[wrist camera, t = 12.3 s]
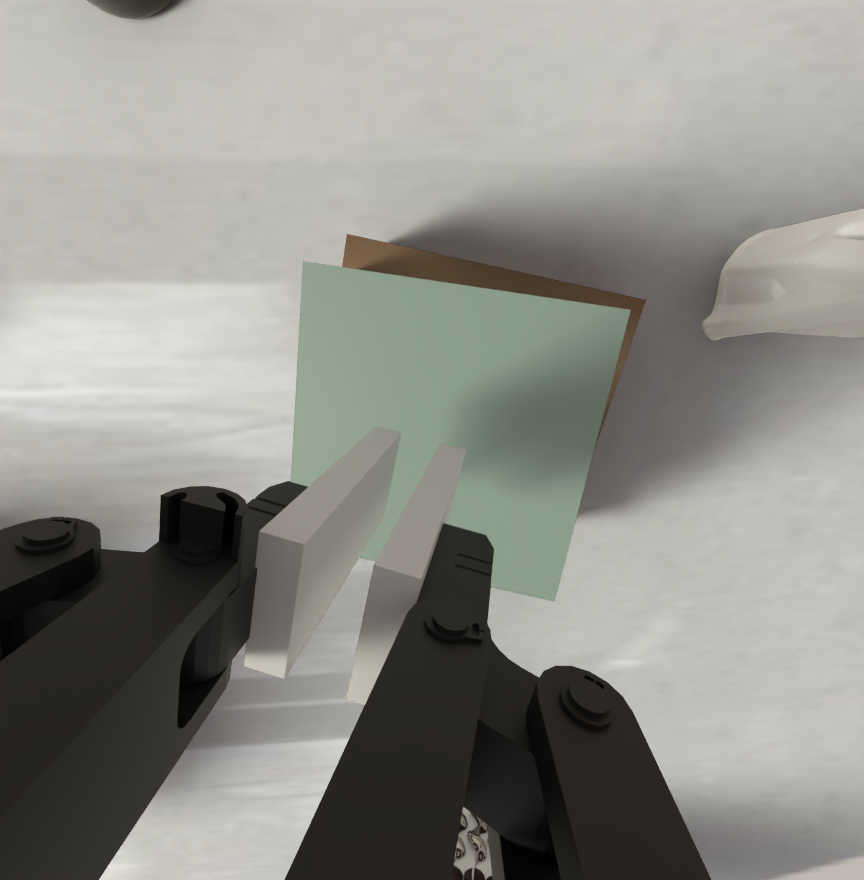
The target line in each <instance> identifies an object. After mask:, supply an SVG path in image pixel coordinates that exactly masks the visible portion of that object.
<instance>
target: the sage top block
mask: <svg viewBox="0 0 864 880" xmlns="http://www.w3.org/2000/svg"><path fill="white" fill-rule="evenodd" d="M630 311H631V310H628V309H621V308H615V307H608V306H601V305H594V304H588V303H581V302H574V301H567V300H561V299H554V298H547V297H540V296H534V295H527V294H520V293H513V292H507V291H500V290H493V289H486V288H480V287H473V286H466V285H459V284H453V283H446V282H439V281H432V280H426V279H419V278H412V277H405V276H399V275H392V274H385V273H378V272H372V271H365V270H358V269H351V268H345V267H338V266H331V265H324V264H318V263H311V262H304V261H303V269H302V288H301V306H300V324H299V343H298V361H297V380H296V398H295V416H294V435H293V453H292V471H291V482H293V483H297V484H300V485H304V486H307V487H309V486H310V485H311V484H312V483H313V482H314V481H316V480H317V479H318V478H319V477H320V476H321V475H322V474H323V473H325V472H326V471H327V470H328V469H329V468H330V467H331V466H332V465H333V464H335V463H336V462H337V461H338V460H339V459H340V458H341V457H342V456H343V455H345V454H346V453H347V452H348V451H349V450H350V449H351V448H352V447H353V446H355V445H356V444H357V443H358V442H359V441H360V440H361V439H362V438H364V437H365V436H366V435H367V434H368V433H369V432H370V431H371V430H372V429H374V428H375V427H376V426H379V427H383V428H386V429H390V430H394V431H398V432H401V438H400V443H399V448H398V453H397V457H396V462H395V467H394V472H393V477H392V482H391V487H390V491H389V496H388V501H387V506H386V511H385V516H384V518H383V519H382V521H381V522H380V524H379V526H378V527H377V529H376V531H375V532H374V534H373V535H372V537H371V539H370V540H369V542H368V544H367V545H366V547H365V548H364V550H363V552H362V553H361V555H360V558H364V559H368V560H373V561H376V560H377V558H378V557H379V555H380V553H381V551H382V549H383V547H384V546H385V544H386V542H387V540H388V538H389V536H390V535H391V533H392V531H393V529H394V527H395V525H396V523H397V522H398V520H399V518H400V516H401V514H402V512H403V511H404V509H405V507H406V505H407V503H408V501H409V499H410V498H411V496H412V494H413V492H414V490H415V488H416V487H417V485H418V483H419V481H420V479H421V477H422V475H423V474H424V472H425V470H426V468H427V466H428V464H429V463H430V461H431V459H432V457H433V455H434V453H435V451H436V450H437V448H438V446H439V444H440V443H443V444H447V445H451V446H455V447H458V448H462V449H466V452H465V456H464V460H463V464H462V468H461V472H460V476H459V480H458V484H457V487H456V491H455V495H454V499H453V503H452V507H451V511H450V515H449V519H448V523H447V524H449V525H452V526H456V527H459V528H463V529H466V530H470V531H473V532H477V533H481V534H484V535H486V536H487V537H488V539H489V541H490V543H491V544H492V546H493V548H494V557H493V565H492V566H493V567H492V576H491V577H492V578H491V587H492V588H497V589H501V590H506V591H510V592H514V593H519V594H523V595H528V596H532V597H537V598H541V599H545V600H550V601H555V598H556V594H557V590H558V586H559V582H560V578H561V575H562V571H563V567H564V563H565V559H566V555H567V552H568V548H569V544H570V540H571V536H572V533H573V529H574V525H575V521H576V517H577V513H578V510H579V506H580V502H581V498H582V494H583V490H584V487H585V483H586V479H587V475H588V471H589V468H590V464H591V460H592V456H593V452H594V448H595V445H596V441H597V437H598V433H599V429H600V426H601V422H602V418H603V414H604V410H605V406H606V403H607V399H608V395H609V391H610V387H611V383H612V380H613V376H614V372H615V368H616V364H617V361H618V357H619V353H620V349H621V345H622V341H623V338H624V334H625V330H626V326H627V322H628V319H629V315H630Z"/></svg>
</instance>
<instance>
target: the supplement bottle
mask: <svg viewBox="0 0 864 880" xmlns="http://www.w3.org/2000/svg"><path fill="white" fill-rule="evenodd" d="M87 1H89V2H90V3H92V4H93V5H95V6H96V7H98V8H100V9H101V10H103V11H105V12H107V13H109V14H111V15H114V16H117V17H121V18H126V19H138V18H144V17H148V16H151V15H153V14H155V13H157V12H159V11H160V10H162V9H163V8H165V7H166V6H167V5H168V4H169V3H170V2H171V1H172V0H87Z"/></svg>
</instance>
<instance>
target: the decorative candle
mask: <svg viewBox="0 0 864 880" xmlns="http://www.w3.org/2000/svg"><path fill="white" fill-rule="evenodd" d="M451 880H493V879H492V869H491V859H490V850H489V840H488V825H487V824H486V823H484V822H483V821H482V820H480V819H479V818H478V817H476V816H475V815H474V814H472V813H471V812H470V811H468V810H467V809H466V808H464V807H463V812H462V817H461V823H460V829H459V835H458V841H457V847H456V853H455V859H454V865H453V870H452V876H451Z"/></svg>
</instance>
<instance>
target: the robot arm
mask: <svg viewBox="0 0 864 880" xmlns="http://www.w3.org/2000/svg"><path fill="white" fill-rule="evenodd" d="M400 438H401V432H398V431H394V430H390V429H386V428H383V427H379V426H376V427H375V428H374V429H372V430H371V431H370V432H369V433H368V434H367V435H366V436H365V437H364V438H362V439H361V440H360V441H359V442H358V443H357V444H356V445H355V446H353V447H352V448H351V449H350V450H349V451H348V452H347V453H346V454H345V455H343V456H342V457H341V458H340V459H339V460H338V461H337V462H336V463H335V464H333V465H332V466H331V467H330V468H329V469H328V470H327V471H326V472H325V473H323V474H322V475H321V476H320V477H319V478H318V479H317V480H316V481H314V482H313V483H312V484H311V485H310V486H309V487H307V486H304V485H300V484H297V483H293V482H290V481H287V482H284V483H281V484H277V485H274V486H271V487H268V488H267V489H266V490H264V491H263V492H262V493H261V494H259V495H258V496H257V497H256V499H253V500H251V501H250V502H249V503H247V504H246V501H245V500H244V499H243V498H242V497H241V496H239V495H238V494H237V493H234V492H231V491H229V490H226V489H222V488H216V487H209V486H195V487H186V488H180V489H175V490H172V491H170V492H167V493H165V494H163V495H161V506H160V532H159V542H158V543H156V544H155V545H154V546H152V547H151V548H150V549H148V550H147V551H146V552H130V551H117V550H105V549H101V537H100V530H99V529H98V528H97V527H96V526H95V525H93V524H92V523H90V522H87V521H84V520H80V519H77V518H68V517H66V518H64V517H52V518H46V519H37V520H33V521H29V522H25V523H21V524H17V525H14V526H11V527H8V528H5V529H2V530H0V880H99V878H100V877H101V875H102V874H103V872H104V871H105V869H106V868H107V866H108V865H109V863H110V862H111V860H112V859H113V857H114V856H115V854H116V853H117V851H118V850H119V848H120V847H121V845H122V844H123V842H124V841H125V839H126V838H127V836H128V835H129V833H130V832H131V830H132V829H133V827H134V826H135V824H136V823H137V821H138V820H139V818H140V817H141V815H142V814H143V812H144V811H145V809H146V808H147V806H148V805H149V803H150V802H151V800H152V799H153V797H154V796H155V794H156V792H157V791H158V789H159V788H160V786H161V785H162V783H163V782H164V780H165V779H166V777H167V776H168V774H169V773H170V771H171V770H172V768H173V767H174V765H175V764H176V762H177V761H178V759H179V758H180V756H181V755H182V753H183V752H184V750H185V749H186V747H187V746H188V744H189V743H190V741H191V740H192V738H193V737H194V735H195V734H196V732H197V731H198V729H199V728H200V726H201V725H202V723H203V722H204V720H205V719H206V717H207V716H208V714H209V713H210V711H211V710H212V708H213V707H214V705H215V704H216V702H217V701H218V699H219V698H220V696H221V695H222V693H223V691H224V690H225V688H226V686H227V683H228V681H229V678H230V672H231V662H232V659H233V658H234V657H235V655H236V654H237V653H238V652H239V650H240V649H241V648H242V647H243V645H244V644H245V643H246V651H245V660H244V666H245V667H249V668H252V669H255V670H258V671H261V672H264V673H267V674H270V675H273V676H276V677H279V678H282V679H284V678H285V677H286V675H287V673H288V672H289V670H290V669H291V667H292V665H293V664H294V662H295V661H296V659H297V657H298V656H299V654H300V652H301V651H302V649H303V648H304V646H305V644H306V643H307V641H308V639H309V638H310V636H311V635H312V633H313V631H314V630H315V628H316V626H317V625H318V623H319V622H320V620H321V618H322V617H323V615H324V613H325V612H326V610H327V609H328V607H329V605H330V604H331V602H332V600H333V599H334V597H335V596H336V594H337V592H338V591H339V589H340V587H341V586H342V584H343V583H344V581H345V579H346V578H347V576H348V574H349V573H350V571H351V570H352V568H353V566H354V565H355V563H356V561H357V560H358V558H359V557H360V555H361V553H362V552H363V550H364V548H365V547H366V545H367V544H368V542H369V540H370V539H371V537H372V535H373V534H374V532H375V531H376V529H377V527H378V526H379V524H380V522H381V521H382V519H383V518H384V516H385V511H386V506H387V501H388V496H389V491H390V487H391V482H392V477H393V472H394V467H395V462H396V457H397V453H398V448H399V443H400ZM465 452H466V449H462V448H458V447H455V446H451V445H447V444H443V443H440V444H439V446H438V448H437V450H436V451H435V453H434V455H433V457H432V459H431V461H430V463H429V464H428V466H427V468H426V470H425V472H424V474H423V475H422V477H421V479H420V481H419V483H418V485H417V487H416V488H415V490H414V492H413V494H412V496H411V498H410V499H409V501H408V503H407V505H406V507H405V509H404V511H403V512H402V514H401V516H400V518H399V520H398V522H397V523H396V525H395V527H394V529H393V531H392V533H391V535H390V536H389V538H388V540H387V542H386V544H385V546H384V547H383V549H382V551H381V553H380V555H379V557H378V558H377V560H376V562H375V564H374V567H373V572H372V577H371V582H370V587H369V592H368V596H367V601H366V606H365V611H364V616H363V621H362V626H361V630H360V635H359V640H358V645H357V650H356V655H355V660H354V664H353V669H352V674H351V679H350V684H349V689H348V694H347V698H346V699H347V700H350V701H353V702H356V703H359V704H362V705H365V706H364V708H363V710H362V713H361V715H360V717H359V719H358V721H357V723H356V726H355V728H354V730H353V732H352V734H351V736H350V739H349V741H348V743H347V745H346V747H345V750H344V752H343V754H342V756H341V758H340V760H339V763H338V765H337V767H336V769H335V771H334V773H333V776H332V778H331V780H330V782H329V784H328V787H327V789H326V791H325V793H324V795H323V797H322V800H321V802H320V804H319V806H318V808H317V810H316V813H315V815H314V817H313V819H312V821H311V824H310V826H309V828H308V830H307V832H306V834H305V837H304V839H303V841H302V843H301V845H300V848H299V850H298V852H297V854H296V856H295V858H294V861H293V863H292V865H291V867H290V869H289V871H288V874H287V876H286V878H285V880H451V876H452V870H453V865H454V859H455V853H456V847H457V841H458V835H459V829H460V823H461V817H462V812H463V807H464V808H466V809H467V810H468V811H470V812H471V813H472V814H474V815H475V816H476V817H478V818H479V819H480V820H482V821H483V822H484V823H486V824H487V825H488V840H489V850H490V859H491V869H492V879H493V880H711V878H710V876H709V874H708V872H707V870H706V868H705V865H704V863H703V861H702V859H701V857H700V855H699V853H698V850H697V848H696V846H695V844H694V842H693V840H692V838H691V835H690V833H689V831H688V829H687V827H686V825H685V823H684V820H683V818H682V816H681V814H680V812H679V810H678V808H677V805H676V803H675V801H674V799H673V797H672V795H671V793H670V790H669V788H668V786H667V784H666V782H665V780H664V778H663V775H662V773H661V771H660V769H659V767H658V765H657V763H656V761H655V758H654V756H653V754H652V752H651V750H650V748H649V746H648V743H647V741H646V739H645V737H644V735H643V733H642V731H641V728H640V726H639V724H638V722H637V720H636V718H635V716H634V713H633V712H632V710H631V709H630V707H629V706H628V704H627V703H626V701H625V700H624V698H623V697H622V695H620V694H619V693H618V692H617V691H616V690H615V689H614V688H613V687H612V686H611V685H610V684H609V683H607V682H606V681H604V680H603V679H601V678H599V677H598V676H596V675H594V674H592V673H591V672H589V671H586V670H583V669H579V668H576V667H573V666H554V667H552V668H550V669H548V670H545V671H544V672H543V673H542V675H541V676H540V678H539V677H537V676H535V675H533V674H532V673H530V672H528V671H526V670H525V669H523V668H521V667H520V666H518V665H517V664H515V663H514V662H512V661H511V660H509V659H508V658H507V657H506V656H505V655H504V654H503V653H502V652H501V651H500V650H499V649H498V648H497V647H496V645H495V644H494V642H493V641H492V639H491V633H490V629H489V627H488V625H487V619H488V609H489V598H490V588H491V578H492V577H491V576H492V567H493V566H492V565H493V557H494V548H493V546H492V544H491V543H490V541H489V539H488V537H487V536H486V535H484V534H481V533H477V532H473V531H470V530H466V529H463V528H459V527H456V526H452V525H449V524H447V523H448V519H449V515H450V511H451V507H452V503H453V499H454V495H455V491H456V487H457V484H458V480H459V476H460V472H461V468H462V464H463V460H464V456H465ZM246 641H247V642H246Z"/></svg>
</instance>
